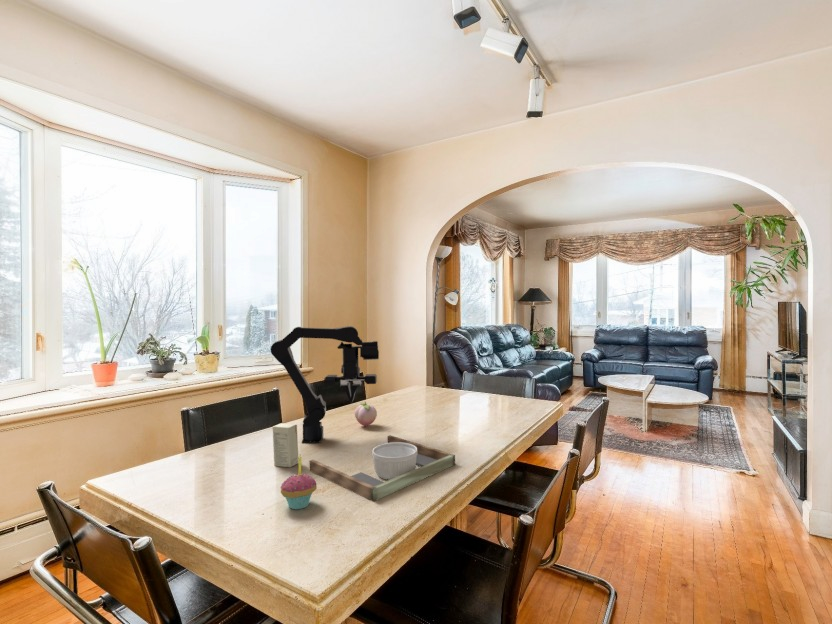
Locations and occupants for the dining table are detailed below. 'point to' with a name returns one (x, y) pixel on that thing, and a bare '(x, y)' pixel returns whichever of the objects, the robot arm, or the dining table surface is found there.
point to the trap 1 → (367, 479)
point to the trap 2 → (423, 460)
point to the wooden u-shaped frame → (390, 486)
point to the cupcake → (298, 489)
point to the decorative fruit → (365, 414)
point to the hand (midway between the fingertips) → (351, 402)
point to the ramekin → (394, 459)
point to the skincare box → (285, 445)
